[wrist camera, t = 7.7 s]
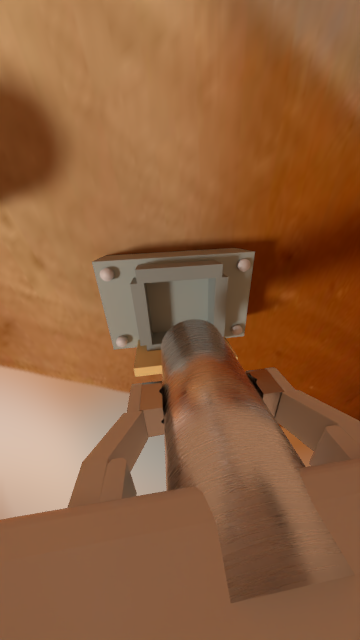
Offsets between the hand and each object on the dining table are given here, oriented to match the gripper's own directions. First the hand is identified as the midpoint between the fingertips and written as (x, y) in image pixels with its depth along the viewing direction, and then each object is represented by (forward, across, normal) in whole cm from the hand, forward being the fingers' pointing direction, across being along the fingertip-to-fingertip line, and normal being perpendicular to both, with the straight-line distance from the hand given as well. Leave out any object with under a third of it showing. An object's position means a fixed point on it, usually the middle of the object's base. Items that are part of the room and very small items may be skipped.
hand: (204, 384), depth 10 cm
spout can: (+4, 0, 0) cm, 4 cm away
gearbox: (+17, 0, 0) cm, 17 cm away
